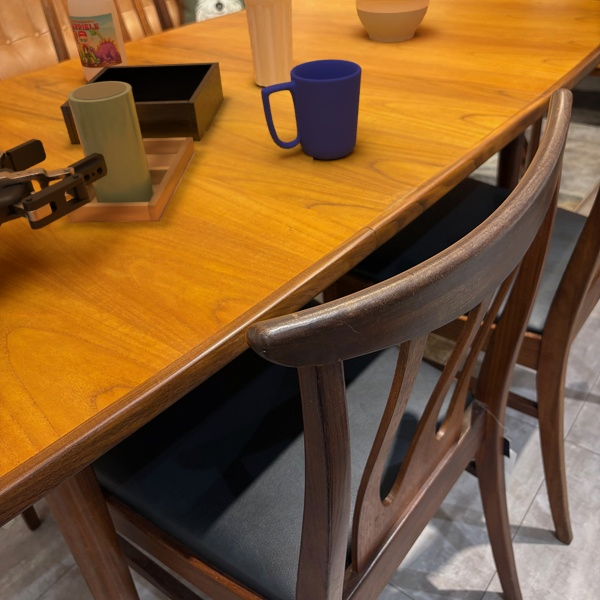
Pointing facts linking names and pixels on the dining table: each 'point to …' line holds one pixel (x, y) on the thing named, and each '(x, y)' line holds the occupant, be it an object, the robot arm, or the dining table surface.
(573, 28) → the dining table surface
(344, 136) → the mug
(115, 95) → the tumbler
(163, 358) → the dining table surface
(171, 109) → the dark brown open box
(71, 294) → the dining table surface
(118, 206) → the divided wooden tray
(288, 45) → the cup
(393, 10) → the bowl
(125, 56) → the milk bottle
